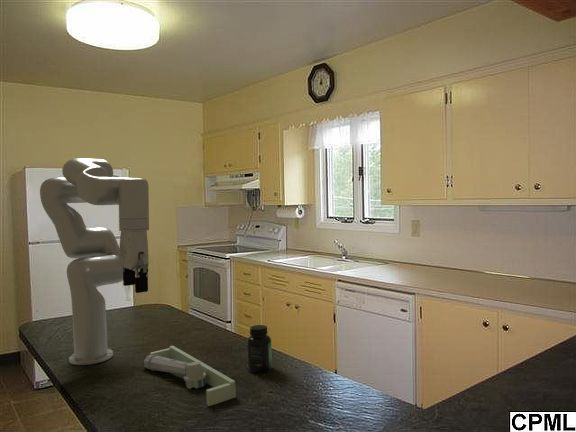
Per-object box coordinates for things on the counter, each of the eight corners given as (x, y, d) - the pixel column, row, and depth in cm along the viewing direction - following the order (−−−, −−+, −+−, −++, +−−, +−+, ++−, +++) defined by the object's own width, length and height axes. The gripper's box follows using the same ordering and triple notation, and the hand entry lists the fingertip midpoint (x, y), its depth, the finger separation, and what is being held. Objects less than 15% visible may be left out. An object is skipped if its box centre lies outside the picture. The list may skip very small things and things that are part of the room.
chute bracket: (150, 364, 136) (150, 351, 135) (173, 358, 140) (172, 345, 140) (209, 406, 107) (208, 389, 107) (235, 397, 111) (235, 381, 111)
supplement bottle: (276, 369, 129) (275, 327, 128) (256, 375, 124) (255, 332, 124) (263, 363, 134) (261, 322, 133) (243, 368, 130) (241, 327, 129)
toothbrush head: (155, 351, 136) (208, 357, 119) (158, 374, 135) (211, 383, 119) (139, 356, 132) (192, 363, 115) (142, 380, 131) (195, 390, 115)
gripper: (110, 223, 126) (111, 284, 127) (130, 228, 112) (131, 297, 113) (137, 221, 130) (138, 281, 132) (160, 226, 117) (161, 293, 118)
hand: (135, 288), depth 122 cm, fingers open, 9 cm apart
